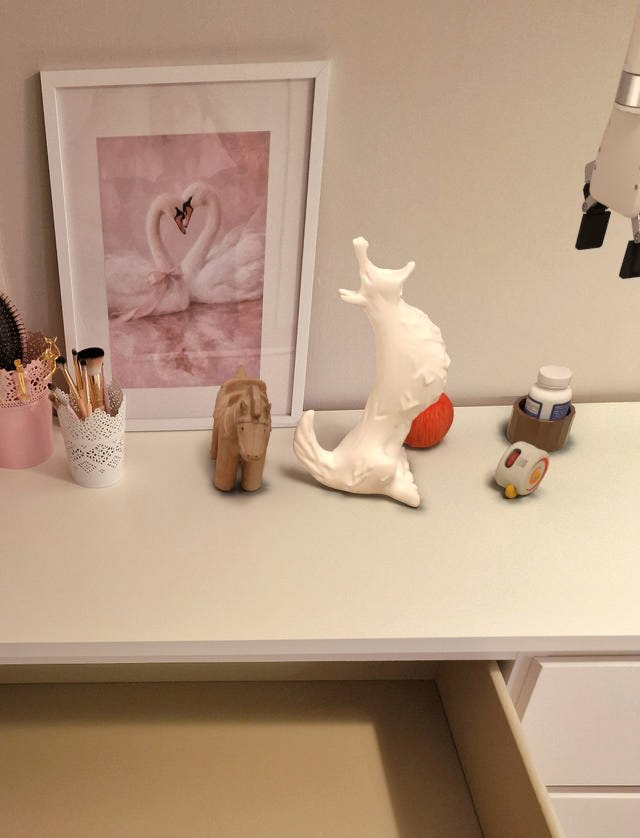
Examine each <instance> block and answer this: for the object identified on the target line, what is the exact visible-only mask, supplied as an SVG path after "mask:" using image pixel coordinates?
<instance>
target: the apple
mask: <svg viewBox="0 0 640 838" xmlns="http://www.w3.org/2000/svg"><path fill="white" fill-rule="evenodd" d="M454 408H455V407H454V405H453V403H452V400H451V399H450V398H449V396H448V395H447V394H446V393H445V392H444V391H443V392H442V394H441V395H440V397H439V399H438V401H437V402H435V403H434V404H432V405H430V406H429V407H428V408H426V409H425V410H424V411H423V412H421V413H420V414H419V415H418V416H417V417H416V418H415V419H414V420H413V421H412V424H411V428H410V431H409V433H408V435H407V436H406V438H405V440H404V442H403V443H404V444H407V445H408V446H411V447H413V448H428V447H433V446H435V445H436V444H438V443H440V442H441V441H442V440H443V439H444V438H445V436H446V435H447V434H448V433H449V431H450V429H451V427H452V425H453V422H454V420H455V419H454V418H455V409H454Z"/></svg>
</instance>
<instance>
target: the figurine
mask: <svg viewBox="0 0 640 838" xmlns="http://www.w3.org/2000/svg"><path fill="white" fill-rule="evenodd" d="M272 404H273V403H271V402H270V401H269V398H268V393H267V384H266V382H265V381H264V380H262V379H260V378H257V377H251V376H249V375H248V374H247V371H246V368H245V367H244V365H242V364H241V365H238V367H237V368H236V371H235V374H234V377H231V378H228V379H227V380H225V381H224V382H223V383H222V384H220V388H219V389H218V392H217V394H216V398H215V404H214V410H213V413H212V418H213V425H212V434H211V441H210V451H209V452H210V454H209V456H210V460H212V461H215V469H214V477H213V478H214V479H213V481H214V482H213V483H214V485H215V488H216V489H218V490H221V491H228V492H229V491H230V490H231V489H233V488H234V486H235V484H236V481H237V476H238V475H237V474H238V466H239V463H240V462H241V469H240V470H241V474H240V481H241V483H240V487H241V488H242V489H243V490H245V491H248V492H255V491H258V490H259V489H261V486H262V481H263V474H264V468H265V461H266V456H267V451H268V446H269V442H270V437H271V433H272V431H273V428H272V423H273V422H272V421H273V420H272V415H271V410H272Z"/></svg>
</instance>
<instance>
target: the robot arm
mask: <svg viewBox="0 0 640 838" xmlns="http://www.w3.org/2000/svg"><path fill="white" fill-rule="evenodd" d="M612 106H613V107H612V109H611V111H610V114H609V117H608V120H607V122H606V125H605V128H604V131H603V135H602V137H601V141H600V144H599V147H598V150H597V154H596V157H595V159H594V160H592V161H590V162H588V163H586V164H585V166H584V185H583V188H582V193H583V198H584V199H583V200H584V201H583V202H582V203H581V211H582V217H581V221H580V225H579V229H578V232H577V237H576V241H575V245H574V248H575V249H576V250H577V251H584V250H585V251H586V250H592V249H600V248H602V246H603V245H604V241H605V237H606V233H607V229H608V227H609V223H610V219H611V215H612V211H614V212H616V213H617V214H618V215H621V216H622V217H625V218H628V219H630V221H631V228H632V229H631V230H632V238H633V239H630V240H628V242H627V245H626V248H625V252H624V255H623V258H622V262H621V266H620V270H619V272H618V277H619V278H620V279H622V280H628V279H634V278H640V0H639V1H638V3H637V8H636V12H635V17H634V20H633V25H632V28H631V33H630V37H629V40H628V45H627V49H626V53H625V57H624V61H623V65H622V69H621V74H620V77H619V81H618V85H617V89H616V93H615V97H614V101H613V104H612ZM609 209H610V210H611V211H610V210H609Z"/></svg>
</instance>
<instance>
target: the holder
mask: <svg viewBox="0 0 640 838" xmlns="http://www.w3.org/2000/svg"><path fill="white" fill-rule="evenodd" d="M527 396H528V394H524V395H522V396H519V397H517V398H516V400H514V402H513V404H512V408H511V412H510V415H509V419H508V424H507V427H506V434H505V435H506V438H507V440H508V441H509V442H510V444H511V445H513V444H514V443H516V442H520V441H523V442H526V443H528V444H531V445H533V446H535V447H536V448H537V449H540V450H544V451H546V452H547V453H552V452H556V451H558V450H561V449H563V448H564V447H565V446H566V444H567V441H568V440H569V436H570V433H571V430H572V426H573V423H574V420H575V417H576V415H577V411H576V407H575V405H573V404H572V403H571V402H570V405H569V408H568V412H567V415H566V417H564V418H561V419H553V420H549V419H540V418H536V417H532V416H530V415H528V414H526V413H524V408H525V404H526V400H527Z"/></svg>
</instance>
